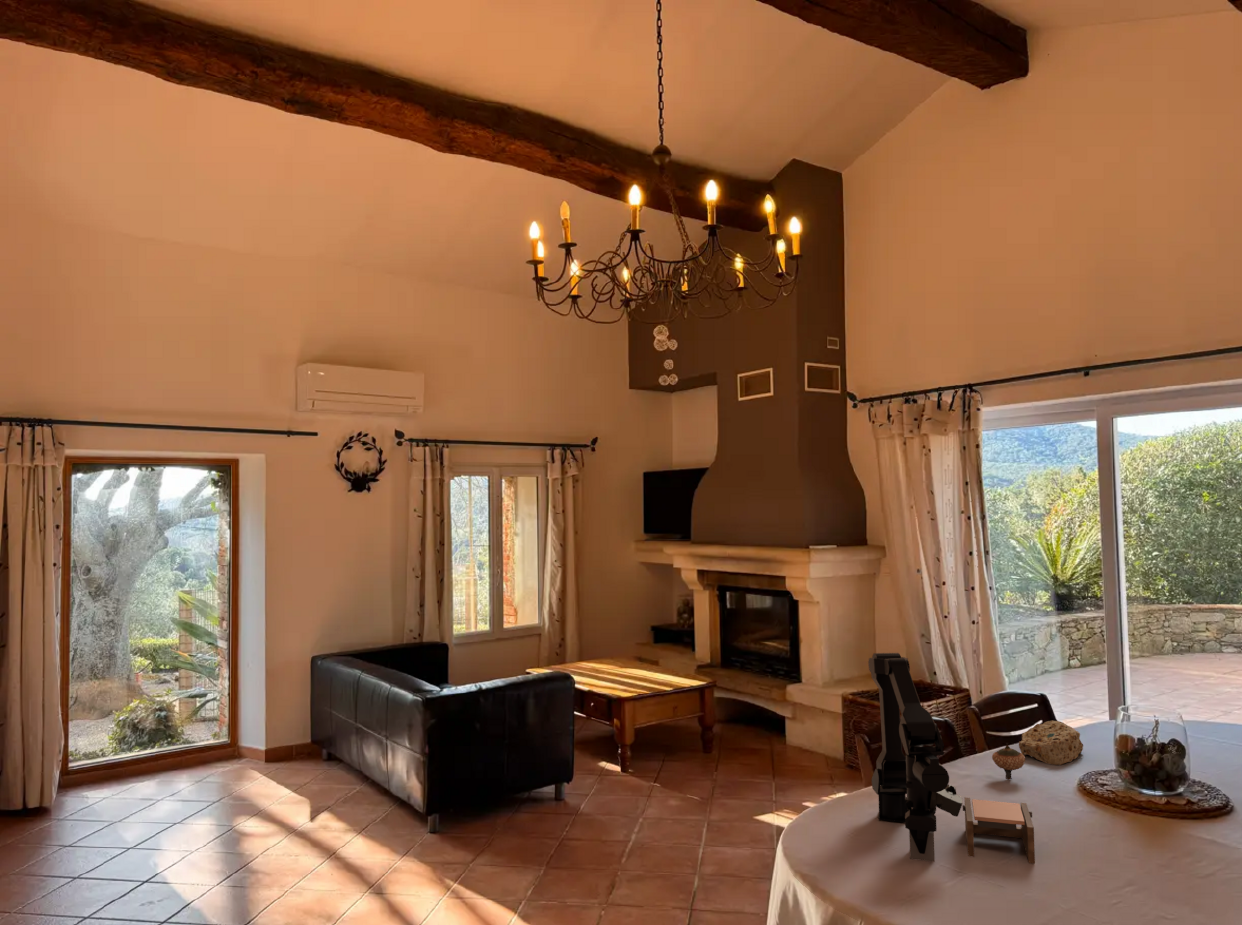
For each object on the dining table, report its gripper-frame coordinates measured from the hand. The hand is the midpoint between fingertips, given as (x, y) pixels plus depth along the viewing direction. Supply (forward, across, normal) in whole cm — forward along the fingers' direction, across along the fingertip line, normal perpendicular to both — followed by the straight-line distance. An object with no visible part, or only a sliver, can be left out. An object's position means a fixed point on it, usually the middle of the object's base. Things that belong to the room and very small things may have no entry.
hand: (922, 848), depth 189 cm
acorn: (+2, +58, -22) cm, 62 cm away
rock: (+2, +86, -36) cm, 93 cm away
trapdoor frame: (+2, +10, -16) cm, 19 cm away
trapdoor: (-1, +10, -16) cm, 19 cm away
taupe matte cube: (+2, 0, 0) cm, 2 cm away
